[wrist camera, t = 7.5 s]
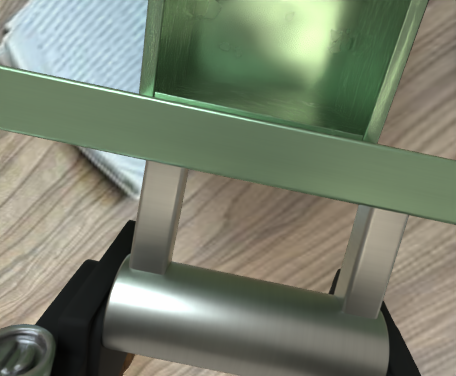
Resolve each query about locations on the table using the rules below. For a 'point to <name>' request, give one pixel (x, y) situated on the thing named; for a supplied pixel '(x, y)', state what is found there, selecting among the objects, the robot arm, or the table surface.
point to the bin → (283, 59)
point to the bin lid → (225, 282)
